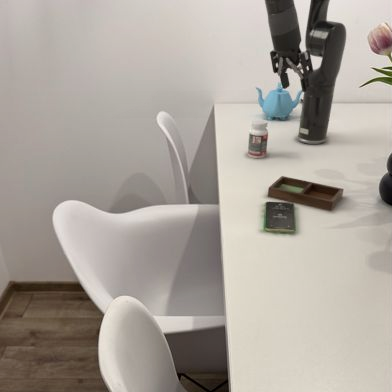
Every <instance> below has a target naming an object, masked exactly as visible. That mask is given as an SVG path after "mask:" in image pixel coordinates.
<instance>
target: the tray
mask: <svg viewBox="0 0 392 392" xmlns="http://www.w3.org/2000/svg"><path fill="white" fill-rule="evenodd" d="M344 190H345V188H341V187H336V186H330V185H327V184H322V183H317V182H312V181H307V180H304V179H303V180H302V179H298V178H294V177H289V176H285V175H281V176H280V177H279V178H278V179H277V180H275V181H274V182H273V183H272V184H271V185H270V186H269V187H268V190H267V197H268V198H272V199H276V200H281V201H284V202H289V203H293V204H297V205H303V206H307V207H310V208H311V207H312V208H315V209H319V210H324V211H328V212H332V211H333V210H334V209H335V207H337V205H338V203H339V202H341V200H342V198H343V194H344Z"/></svg>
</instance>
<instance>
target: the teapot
mask: <svg viewBox="0 0 392 392" xmlns="http://www.w3.org/2000/svg"><path fill="white" fill-rule="evenodd" d="M254 88H255V89H256V90H257V93H258V105H259V106H260V108H261V110H262V112H263V114H264V115H265V116H267V118H266V119H267V120H268V121H269V120H270V121H272V120H273V119H274V118H279V119H280V121H287V119H286V117H289V116H290V115H291V114H292V113H293V111H294V109H295V108H297V106H298V105H299V102H300V99H301V98H300V97H301V96H302V93H303V92H302V89H301V90H298V92H297V94H296V97H295V99H294V100H293V98H292V96H291V94H290V92H289V91H288V90H286V89H283V88H282V85H281V81H279V82H277V87H276V89H271V90H270V91H269V92H268V93H267V95H266V96H265V98H263V91H262V89H261V88H259V87H256V86H255V87H254Z"/></svg>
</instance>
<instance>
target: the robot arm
mask: <svg viewBox="0 0 392 392" xmlns="http://www.w3.org/2000/svg"><path fill="white" fill-rule="evenodd" d="M330 1H331V0H310V2H309V3H310V4H309V10H308V16H307V21H306V29H305V36H304V38H305V39H304V47H305V50H304V51H302V50H301V47H300V46H301V43H302V34H301V29H300V23H299V17H298V12H297V9H296V5H295V0H264V4H265V9H266V14H267V24H268V29H269V33H270V36H271V42H272V47H273V49H272V50H271V51H270V52H269V56H270V63H271V67H272V71H273V73H274V74H277V76H278V77H279V80H280V83H281V87H282V88H283V89H282V90H286V89H287V88H289V87H290V79H289V74H288V69H290V70H292V71H293V72H294V74H296V75H298V77H299V78H300V79H299V81H300V86H301V90H302V93H303V97H302V98H299V101H301V103H302V104H301V113H300V120H299V126H298V135H297V141H298V142H300V143H303V144H306V145H321V144H324V143H326V141H327V136H328V130H329V125H330V124H329V123H330V117H331V111H332V106H333V102H334V101H333V100H334V95H335V89H336V88H335V87H336V83H337V78H338V75H339V73H340V69H341V66H342V61H343V57H344V52H345V49H346V43H347V28H346V26H345V24H344V23H342V22H338V21H332V20H328V10H329V4H330ZM312 57H317V58H321V61H320V65H319V66H318V67H317V68H315V69H314V68H313V62H312V61H313V60H312Z"/></svg>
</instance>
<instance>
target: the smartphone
mask: <svg viewBox="0 0 392 392" xmlns="http://www.w3.org/2000/svg"><path fill="white" fill-rule="evenodd" d="M295 208H296V207H295V203H293V202H289V201H266V202H264V212H263V230H264V231H265V232H270V233H286V234H287V233H288V234H294V233H296V230H297V225H296V223H297V222H296V209H295Z"/></svg>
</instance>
